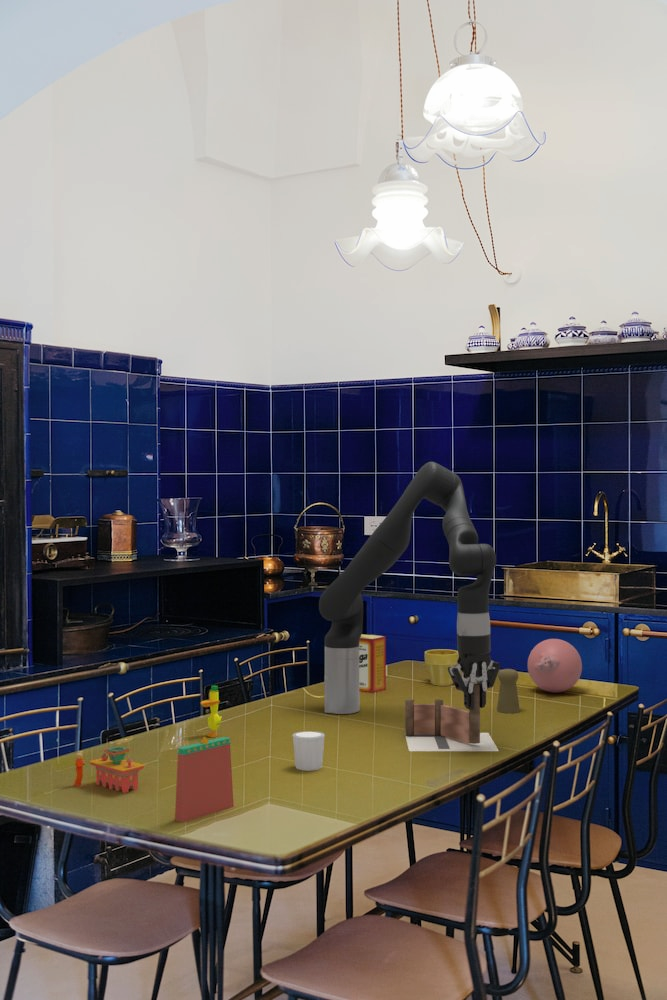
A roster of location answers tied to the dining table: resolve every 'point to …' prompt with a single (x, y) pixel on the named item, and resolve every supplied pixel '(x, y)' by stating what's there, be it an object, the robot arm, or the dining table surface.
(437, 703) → the fence fixed section
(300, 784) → the dining table surface
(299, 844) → the dining table surface
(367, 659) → the baking soda box
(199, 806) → the toy building block set
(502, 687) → the brown tall tapered piece
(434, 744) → the card
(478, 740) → the hinged fence panel
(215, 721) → the toy figure
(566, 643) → the pink rubber ball
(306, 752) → the white short tapered cylinder
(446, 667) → the plant pot
